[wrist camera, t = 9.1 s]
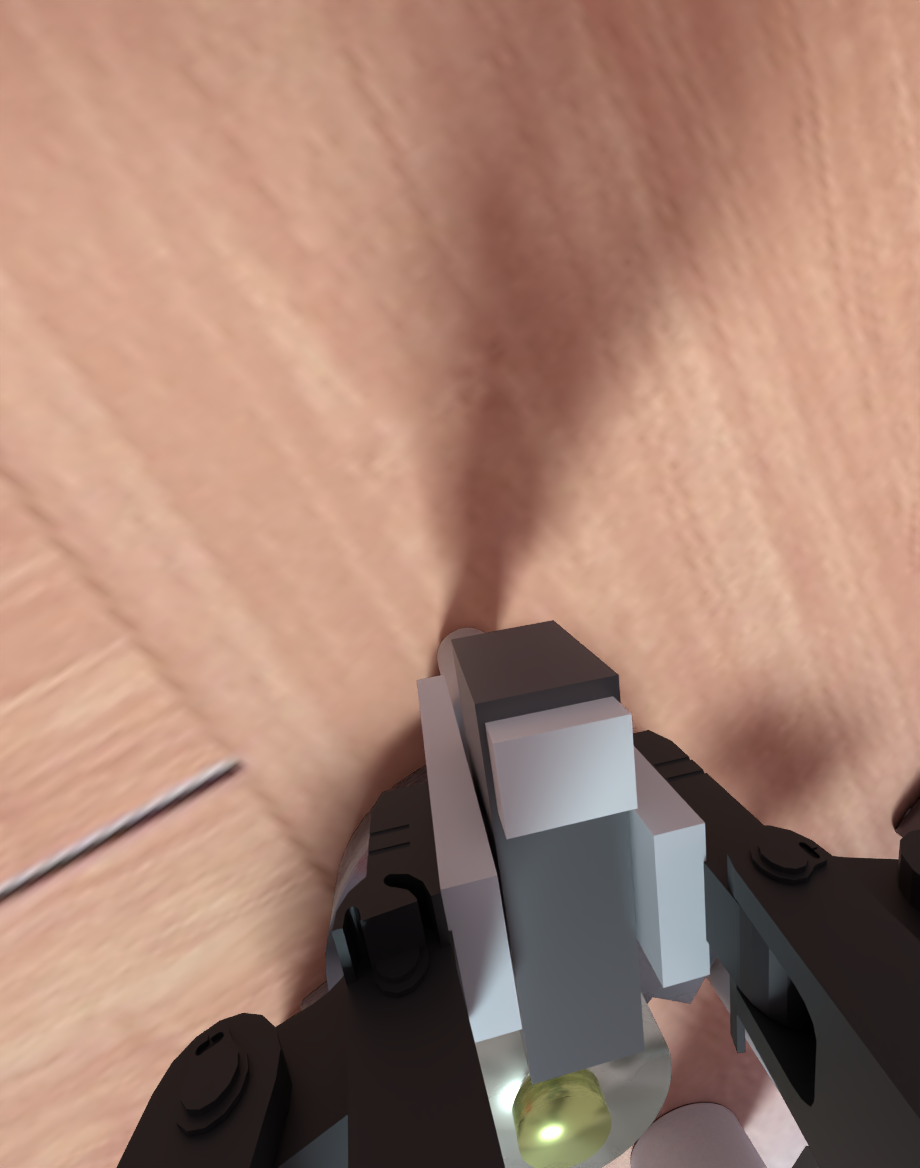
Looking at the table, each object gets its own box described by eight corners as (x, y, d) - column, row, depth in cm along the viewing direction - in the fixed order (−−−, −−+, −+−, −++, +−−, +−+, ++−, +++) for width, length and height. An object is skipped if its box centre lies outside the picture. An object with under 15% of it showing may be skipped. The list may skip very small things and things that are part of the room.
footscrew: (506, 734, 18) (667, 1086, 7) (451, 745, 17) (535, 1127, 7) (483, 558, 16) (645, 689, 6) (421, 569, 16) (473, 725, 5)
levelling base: (321, 1064, 20) (279, 1402, 13) (225, 737, 16) (85, 944, 9) (698, 959, 22) (853, 1199, 15) (689, 644, 18) (890, 752, 11)
